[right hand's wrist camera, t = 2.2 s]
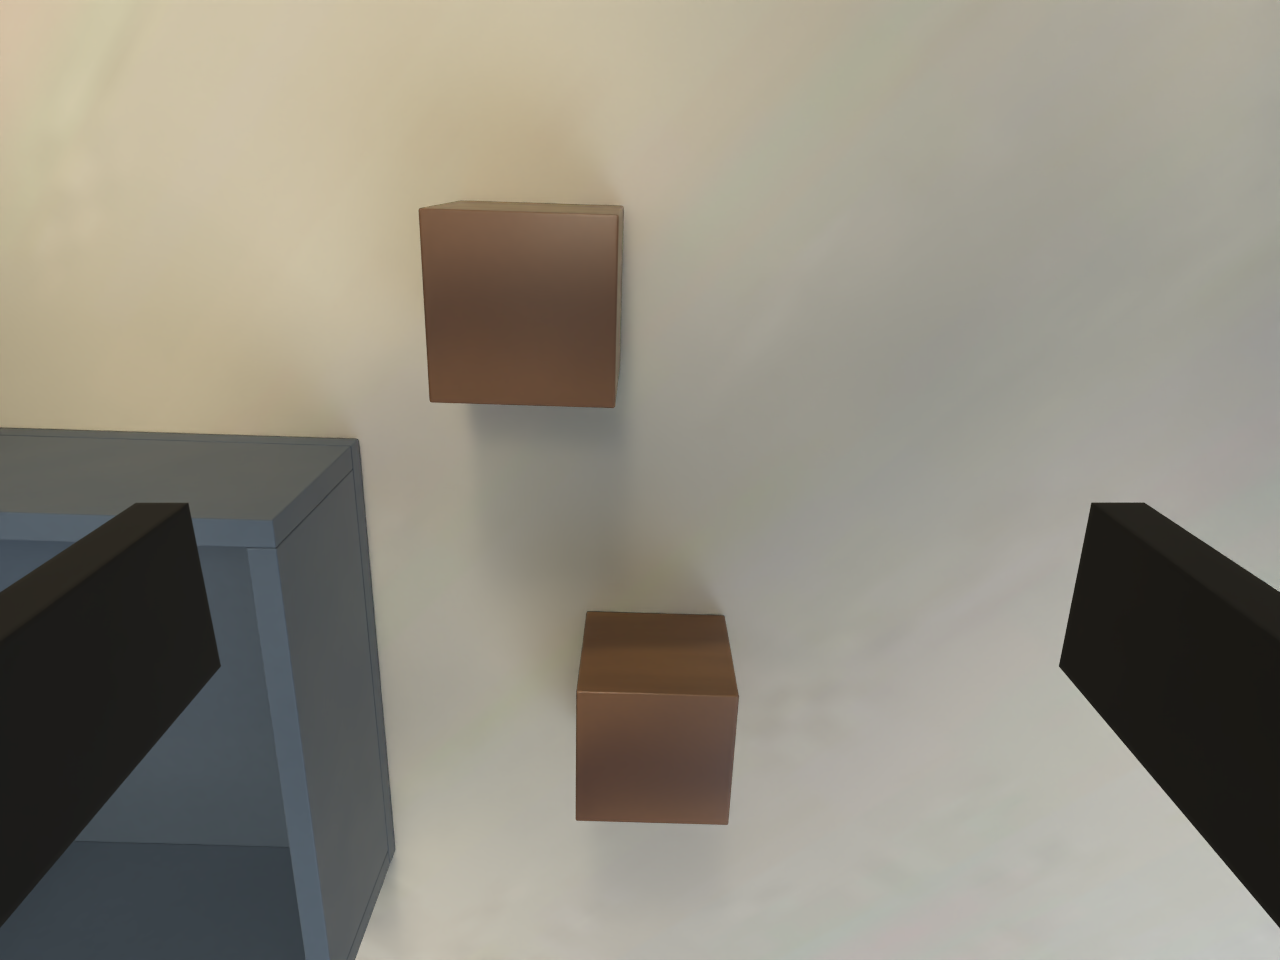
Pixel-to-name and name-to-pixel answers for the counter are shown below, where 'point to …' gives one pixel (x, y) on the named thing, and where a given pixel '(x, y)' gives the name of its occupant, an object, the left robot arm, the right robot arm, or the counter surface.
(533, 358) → the walnut block
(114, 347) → the counter surface
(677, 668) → the walnut block
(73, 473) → the tray
